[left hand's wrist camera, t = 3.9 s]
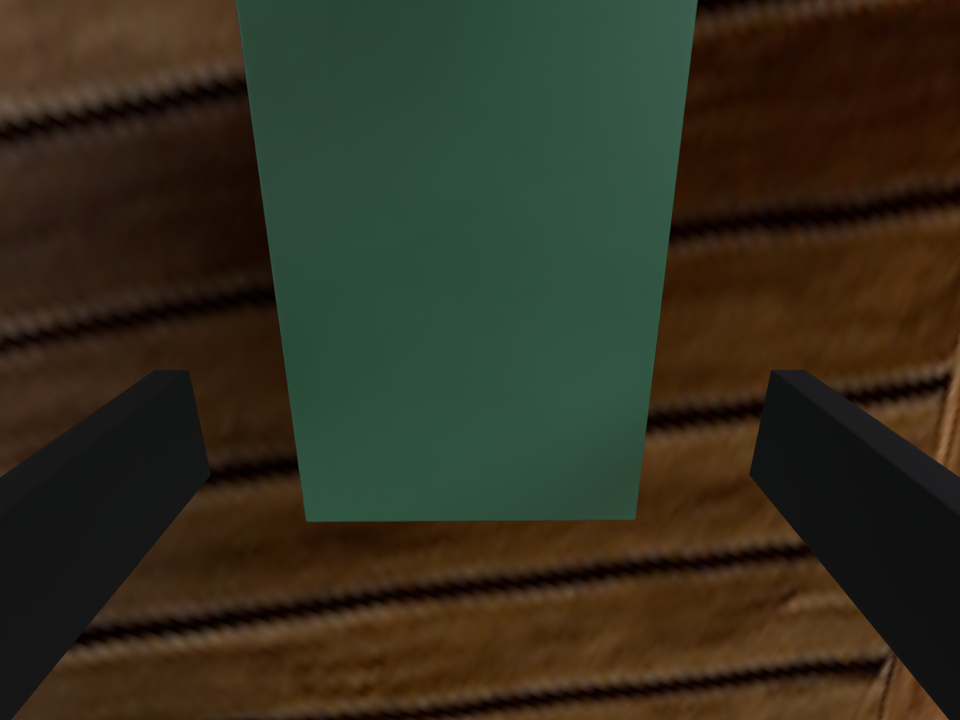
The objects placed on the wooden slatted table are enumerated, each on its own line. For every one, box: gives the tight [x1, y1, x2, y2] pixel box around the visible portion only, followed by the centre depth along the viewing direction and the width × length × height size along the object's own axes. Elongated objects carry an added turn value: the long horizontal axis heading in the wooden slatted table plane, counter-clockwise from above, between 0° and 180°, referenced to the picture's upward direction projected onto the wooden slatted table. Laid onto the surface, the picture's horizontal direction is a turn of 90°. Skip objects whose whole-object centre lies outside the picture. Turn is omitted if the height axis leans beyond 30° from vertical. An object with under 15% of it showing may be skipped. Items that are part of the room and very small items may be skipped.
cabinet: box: [236, 0, 698, 522], centre depth 18 cm, size 14×10×10 cm
